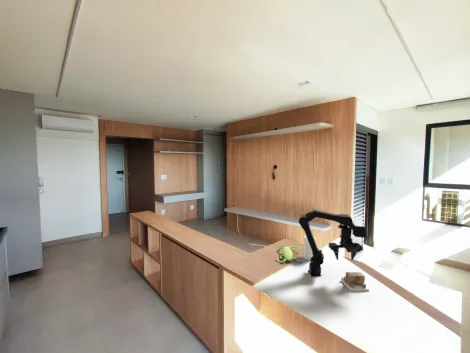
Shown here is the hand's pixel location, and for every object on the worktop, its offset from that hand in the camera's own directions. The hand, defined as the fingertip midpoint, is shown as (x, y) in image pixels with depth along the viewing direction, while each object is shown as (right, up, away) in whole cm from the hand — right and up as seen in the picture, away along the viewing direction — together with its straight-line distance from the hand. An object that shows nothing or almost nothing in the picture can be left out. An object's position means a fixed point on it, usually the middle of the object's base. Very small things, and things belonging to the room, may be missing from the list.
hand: (344, 259), depth 134 cm
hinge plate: (+3, -13, -6) cm, 15 cm away
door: (+3, -12, -6) cm, 14 cm away
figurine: (-26, -10, +32) cm, 43 cm away
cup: (-12, -10, +29) cm, 33 cm away
